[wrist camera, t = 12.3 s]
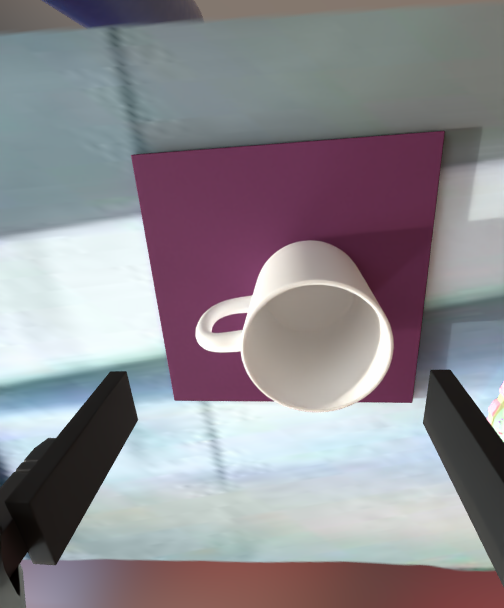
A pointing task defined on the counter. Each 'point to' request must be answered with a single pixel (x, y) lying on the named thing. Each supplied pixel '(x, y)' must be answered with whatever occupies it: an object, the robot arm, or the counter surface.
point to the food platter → (497, 413)
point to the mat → (286, 240)
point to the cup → (307, 330)
